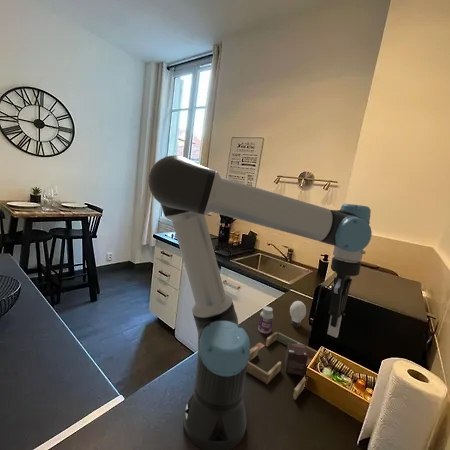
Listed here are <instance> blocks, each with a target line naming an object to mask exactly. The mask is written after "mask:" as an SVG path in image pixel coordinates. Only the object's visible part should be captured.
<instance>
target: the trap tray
mask: <svg viewBox="0 0 450 450" xmlns="http://www.w3.org/2000/svg"><path fill="white" fill-rule="evenodd" d="M275 341H278V342H280V343H281V344H283V345H285V346H287V345H288V342H290V343H295V344H300V345H305V344H303V343H301V342H299V341H297V340H295V339H293V338H291V337H289V336H288V335H285V334H283V333H281V332H279V331H277V330H276V331H275V332H273V333H272V334H270V335H269V336H268V337H267V338H266V340H265V344H263V343H261V342H260V341H259V342H258V343H256V344H254V345H253V347H250V357H249V360H248V365H247V372H246V373H248V374H249V375H252V376H253V377H255V378H256V379H258V380H259V381H261V382H263V384H266V385H268V384H269V383H270V382H271V381H272V380H273V379H274V378H275V377H276V376H277V374H279V372H280V371H281V368H282V361H280V360H279V361H278V362H277V363H276V364H274V366H273V367H271V369H269V371H265V370H264V369H262V368H260V367H259V366H258V365H256V364H255V363H252V362H251V361H252V360H253V359H255V358H256V357H257V356H258V353H259V351H261V350H262V349H263V348H264V347H265V346H266V347H267V348H268V347H269V346H271V345H272V344H273V343H274V342H275ZM305 346H306V350H307V354H308V360H307V365H308V364H309V363H310V361H311V360H312V358H313V357H314V355H315V354H316V352H317V351H318V350H316V349H314V348H312V347H310V346H307V345H305ZM307 365H306V367H307ZM305 376H306V375H305ZM305 376H303V377H302V379H301V380H300V381H299V383H298V384H297V385H296V387H294V388H293V389H294V390H293V394H292V395H293V396H292V399H293V400H294V401H296V400H297V399H298V397H299V396H300V395H301V393H302V392H303V390H304V389H305V388H306V386H305V381H306V379H305ZM304 387H305V388H304Z"/></svg>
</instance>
